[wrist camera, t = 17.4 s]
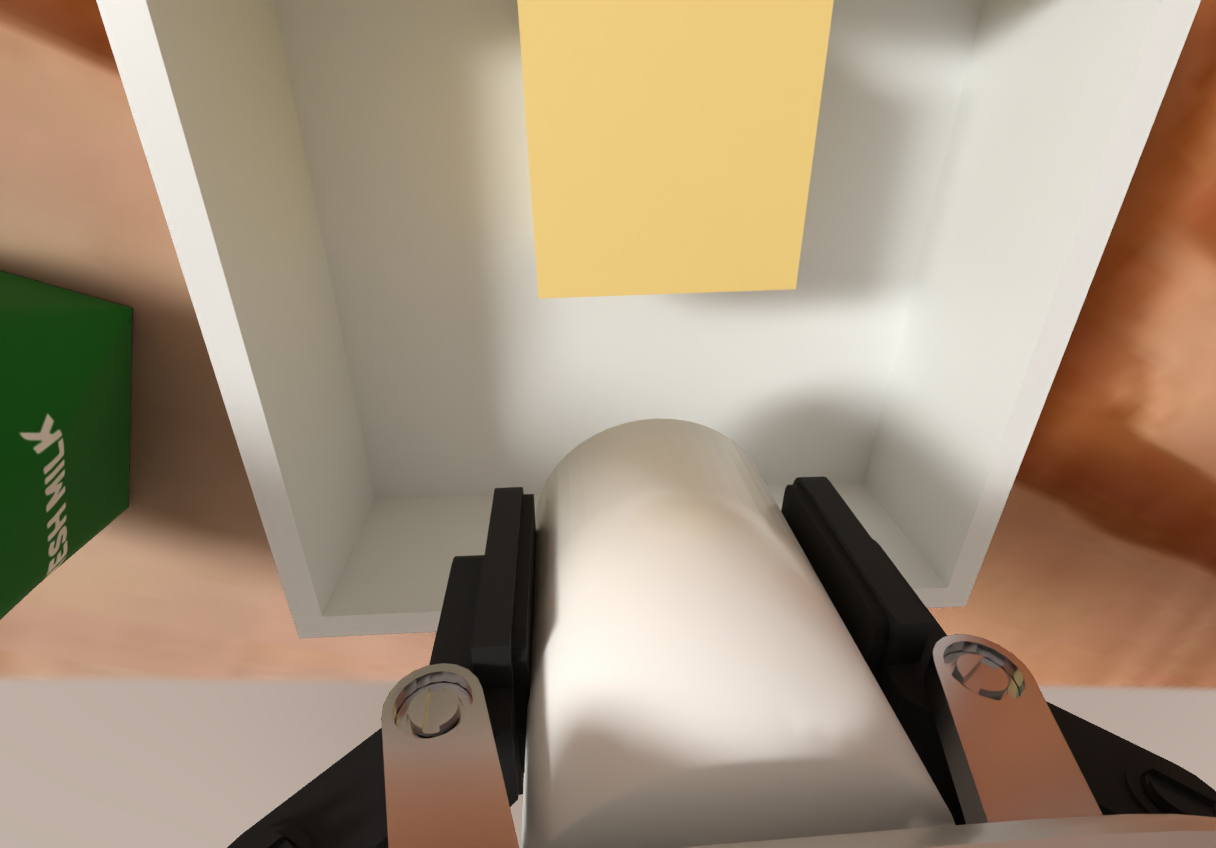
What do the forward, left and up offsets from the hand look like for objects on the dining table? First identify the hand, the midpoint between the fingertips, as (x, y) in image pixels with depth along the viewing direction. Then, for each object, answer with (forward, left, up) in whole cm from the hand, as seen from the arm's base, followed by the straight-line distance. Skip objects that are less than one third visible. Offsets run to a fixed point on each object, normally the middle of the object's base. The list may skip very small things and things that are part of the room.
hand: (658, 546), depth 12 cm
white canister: (0, 0, -1) cm, 1 cm away
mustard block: (0, -7, -7) cm, 10 cm away
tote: (0, -4, -8) cm, 8 cm away
